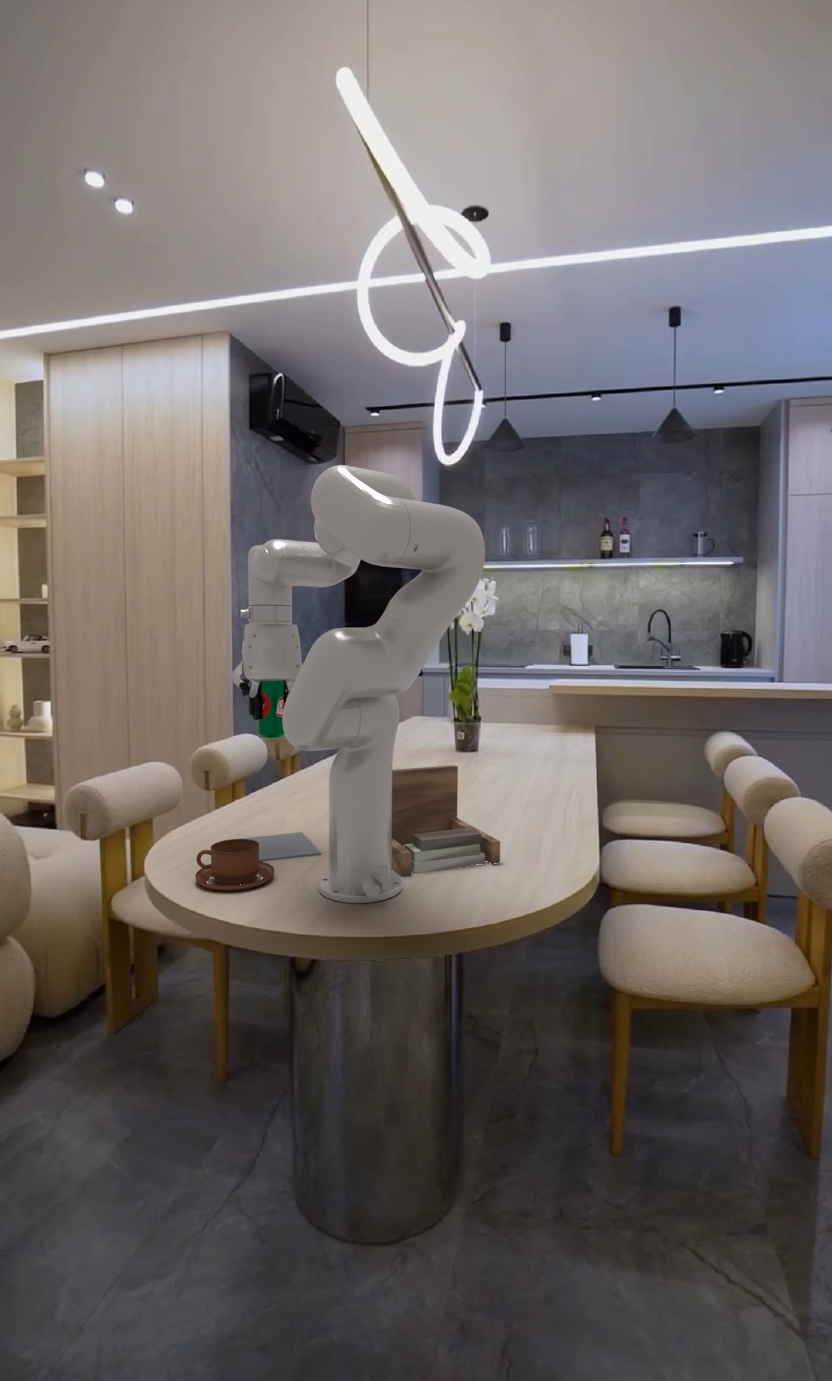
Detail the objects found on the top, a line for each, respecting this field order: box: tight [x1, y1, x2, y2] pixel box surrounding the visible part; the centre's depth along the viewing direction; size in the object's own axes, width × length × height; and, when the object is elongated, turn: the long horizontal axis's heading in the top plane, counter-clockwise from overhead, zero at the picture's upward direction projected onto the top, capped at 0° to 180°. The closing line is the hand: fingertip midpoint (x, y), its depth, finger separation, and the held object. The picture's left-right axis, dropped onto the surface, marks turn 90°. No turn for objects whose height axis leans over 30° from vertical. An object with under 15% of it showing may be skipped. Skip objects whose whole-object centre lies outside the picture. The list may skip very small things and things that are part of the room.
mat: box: [240, 831, 322, 862], centre depth 129 cm, size 14×14×1 cm
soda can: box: [256, 680, 286, 739], centre depth 127 cm, size 5×5×12 cm
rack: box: [392, 764, 501, 878], centre depth 125 cm, size 18×18×14 cm
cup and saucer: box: [195, 838, 275, 892], centre depth 111 cm, size 12×12×6 cm
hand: (271, 717), depth 127 cm, fingers closed on soda can, 5 cm apart
